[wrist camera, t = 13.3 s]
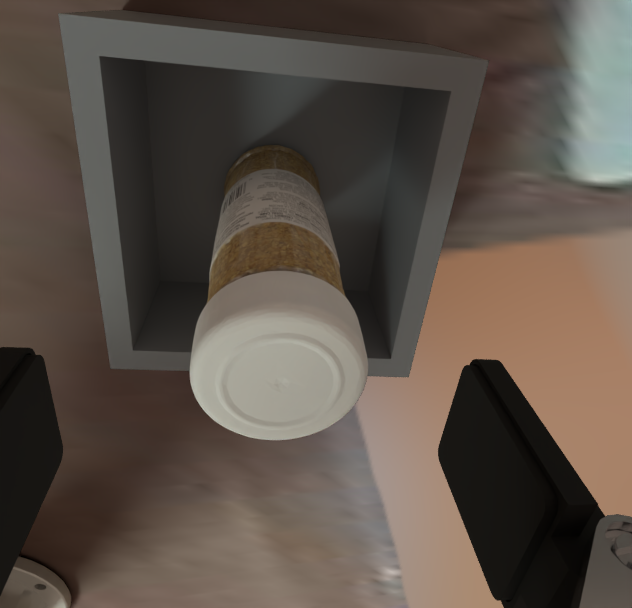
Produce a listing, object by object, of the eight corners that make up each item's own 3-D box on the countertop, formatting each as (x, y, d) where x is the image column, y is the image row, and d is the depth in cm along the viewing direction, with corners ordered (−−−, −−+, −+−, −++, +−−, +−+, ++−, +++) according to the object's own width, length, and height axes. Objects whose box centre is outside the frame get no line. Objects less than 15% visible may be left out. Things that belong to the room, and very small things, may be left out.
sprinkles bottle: (272, 249, 25) (278, 470, 14) (203, 188, 23) (146, 389, 12) (340, 190, 24) (407, 383, 13) (273, 118, 22) (282, 274, 10)
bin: (379, 298, 28) (408, 377, 22) (145, 287, 27) (110, 368, 21) (429, 44, 22) (489, 60, 16) (121, 10, 20) (58, 13, 14)
